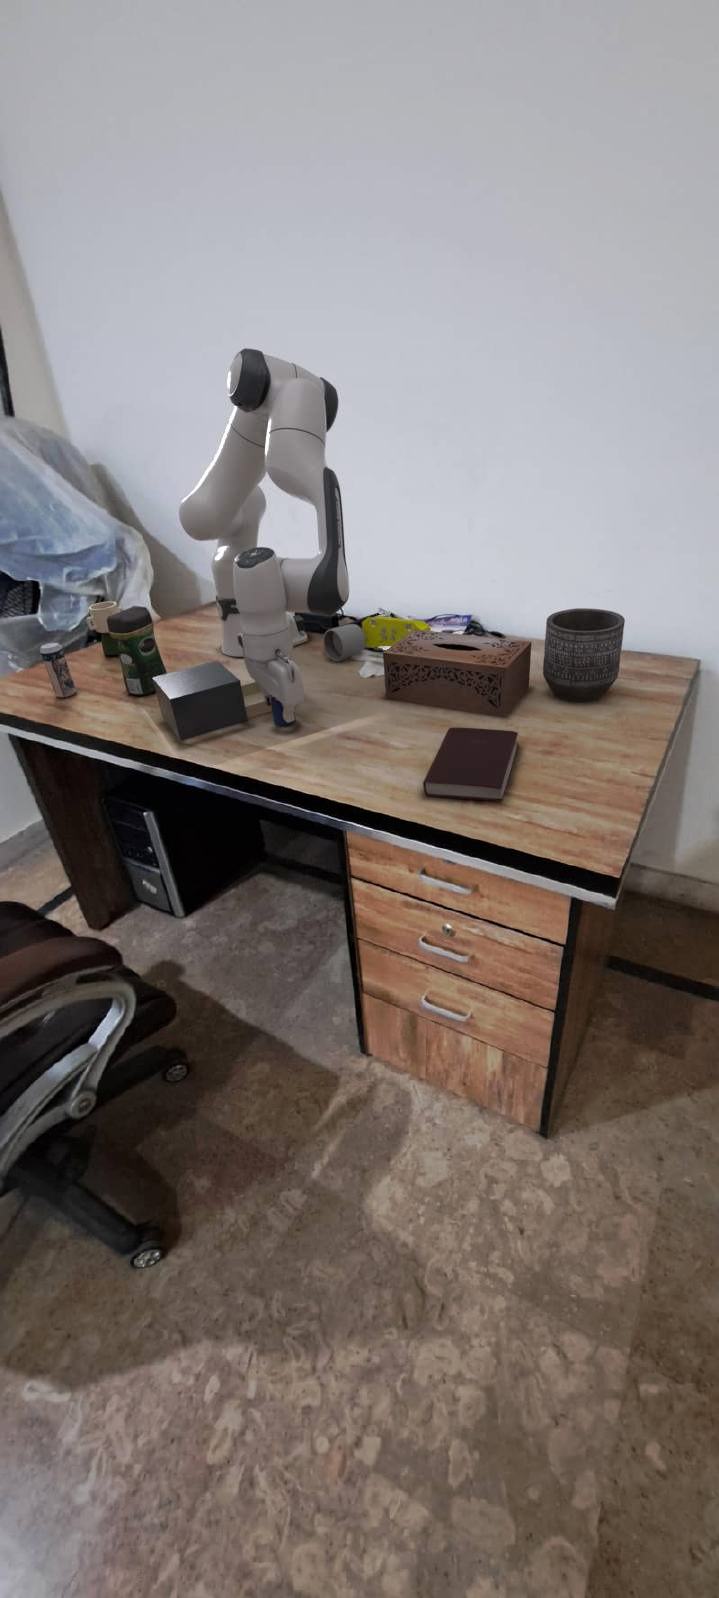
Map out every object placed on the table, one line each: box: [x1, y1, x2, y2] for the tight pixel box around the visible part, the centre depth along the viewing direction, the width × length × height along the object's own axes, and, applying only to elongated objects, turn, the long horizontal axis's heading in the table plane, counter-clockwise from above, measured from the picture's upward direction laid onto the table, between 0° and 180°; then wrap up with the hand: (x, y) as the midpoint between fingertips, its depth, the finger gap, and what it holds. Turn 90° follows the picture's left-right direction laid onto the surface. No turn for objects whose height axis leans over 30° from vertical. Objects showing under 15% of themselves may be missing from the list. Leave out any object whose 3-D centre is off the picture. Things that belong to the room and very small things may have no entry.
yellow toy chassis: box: [361, 615, 432, 652], centre depth 162 cm, size 16×6×8 cm, turn 58°
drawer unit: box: [152, 660, 249, 742], centre depth 135 cm, size 14×14×10 cm
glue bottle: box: [270, 697, 297, 728], centre depth 131 cm, size 4×4×7 cm
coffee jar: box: [107, 605, 168, 697], centre depth 152 cm, size 10×8×19 cm
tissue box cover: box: [382, 630, 532, 718], centre depth 137 cm, size 26×14×10 cm, turn 60°
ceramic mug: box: [322, 624, 366, 662], centre depth 162 cm, size 11×8×8 cm
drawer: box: [241, 680, 272, 719], centre depth 139 cm, size 18×14×9 cm
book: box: [422, 726, 519, 802], centre depth 112 cm, size 12×19×3 cm, turn 161°
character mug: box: [85, 601, 125, 656], centre depth 176 cm, size 11×7×13 cm, turn 141°
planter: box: [542, 607, 626, 703], centre depth 131 cm, size 14×14×15 cm
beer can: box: [39, 641, 77, 698], centre depth 155 cm, size 5×5×12 cm
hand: (279, 712), depth 131 cm, fingers open, 8 cm apart
